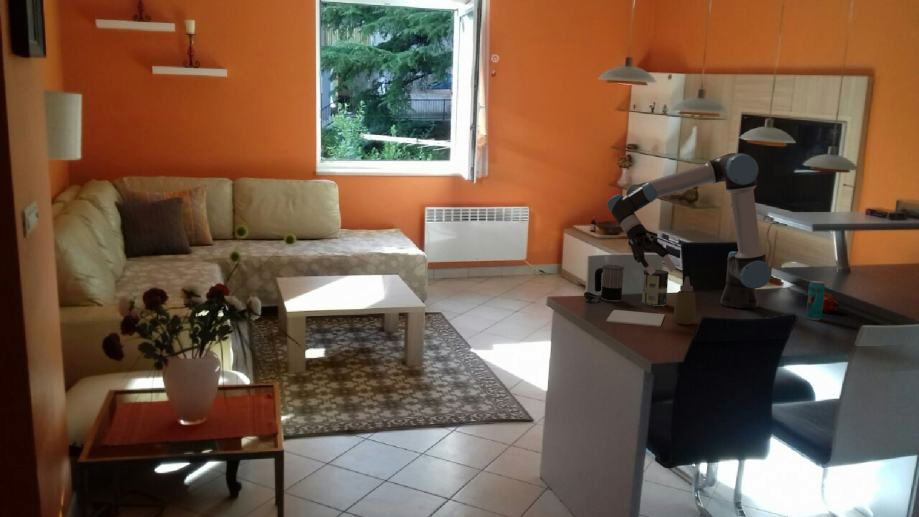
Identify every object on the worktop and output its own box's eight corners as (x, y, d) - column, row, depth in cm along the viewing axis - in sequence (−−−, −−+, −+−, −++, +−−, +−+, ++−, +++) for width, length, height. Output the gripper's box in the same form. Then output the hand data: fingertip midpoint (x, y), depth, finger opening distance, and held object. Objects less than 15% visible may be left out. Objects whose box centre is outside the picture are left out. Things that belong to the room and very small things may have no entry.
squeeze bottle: (695, 321, 310) (698, 275, 307) (695, 326, 303) (698, 279, 300) (673, 320, 312) (676, 274, 310) (672, 324, 305) (676, 277, 302)
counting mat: (664, 315, 319) (664, 314, 319) (660, 327, 301) (660, 325, 301) (613, 311, 326) (613, 309, 326) (606, 321, 307) (606, 320, 307)
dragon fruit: (814, 311, 342) (835, 321, 331) (803, 300, 338) (824, 311, 327) (826, 295, 341) (848, 305, 331) (816, 284, 338) (837, 294, 327)
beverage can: (802, 317, 321) (806, 280, 319) (814, 316, 324) (817, 280, 321) (813, 321, 316) (817, 283, 314) (825, 320, 318) (828, 282, 316)
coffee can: (663, 302, 346) (665, 269, 344) (669, 307, 336) (671, 273, 334) (639, 301, 346) (641, 268, 344) (644, 306, 336) (646, 273, 334)
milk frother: (625, 300, 348) (627, 266, 346) (611, 306, 335) (613, 271, 333) (595, 296, 356) (597, 262, 353) (579, 301, 343) (581, 267, 341)
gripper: (646, 232, 332) (675, 274, 323) (608, 236, 315) (637, 280, 307) (658, 221, 327) (688, 262, 318) (620, 224, 311) (650, 268, 302)
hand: (663, 271), depth 312 cm, fingers open, 13 cm apart
